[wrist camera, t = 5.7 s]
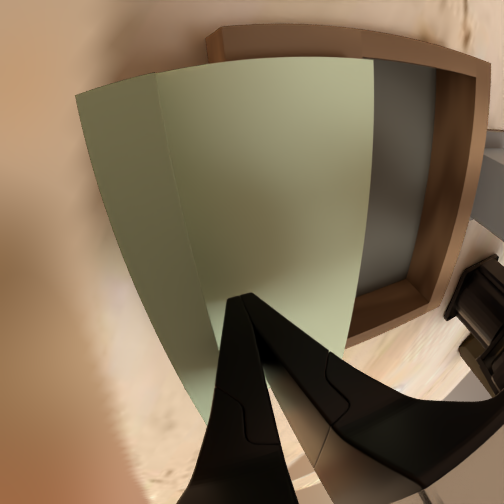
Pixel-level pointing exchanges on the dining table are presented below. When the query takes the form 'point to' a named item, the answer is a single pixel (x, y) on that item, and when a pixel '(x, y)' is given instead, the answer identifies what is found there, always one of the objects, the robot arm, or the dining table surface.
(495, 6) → the dining table surface
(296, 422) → the robot arm
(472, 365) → the bottle
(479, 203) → the block
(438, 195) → the brown hollow rectangular piece
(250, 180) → the cover
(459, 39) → the dining table surface
